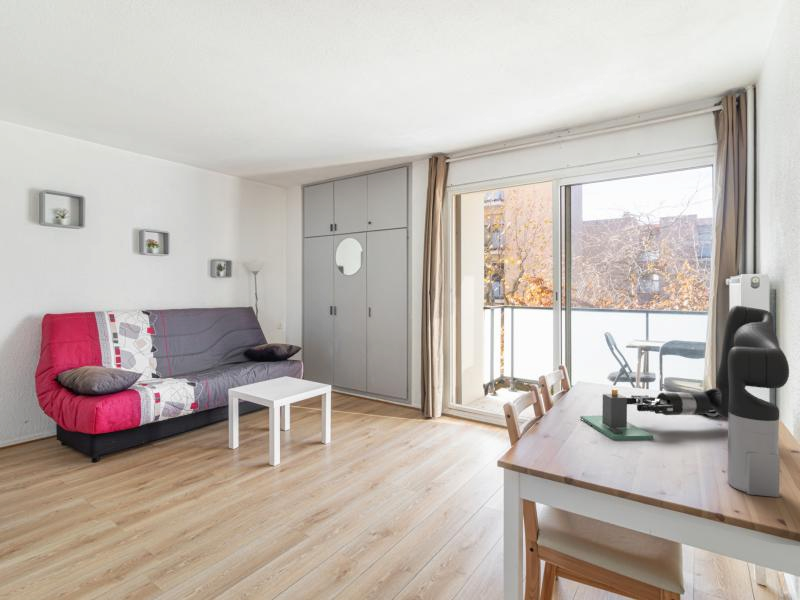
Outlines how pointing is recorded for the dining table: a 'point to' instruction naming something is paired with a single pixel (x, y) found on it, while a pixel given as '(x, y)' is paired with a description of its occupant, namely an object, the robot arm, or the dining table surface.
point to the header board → (617, 430)
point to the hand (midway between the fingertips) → (630, 404)
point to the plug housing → (614, 410)
